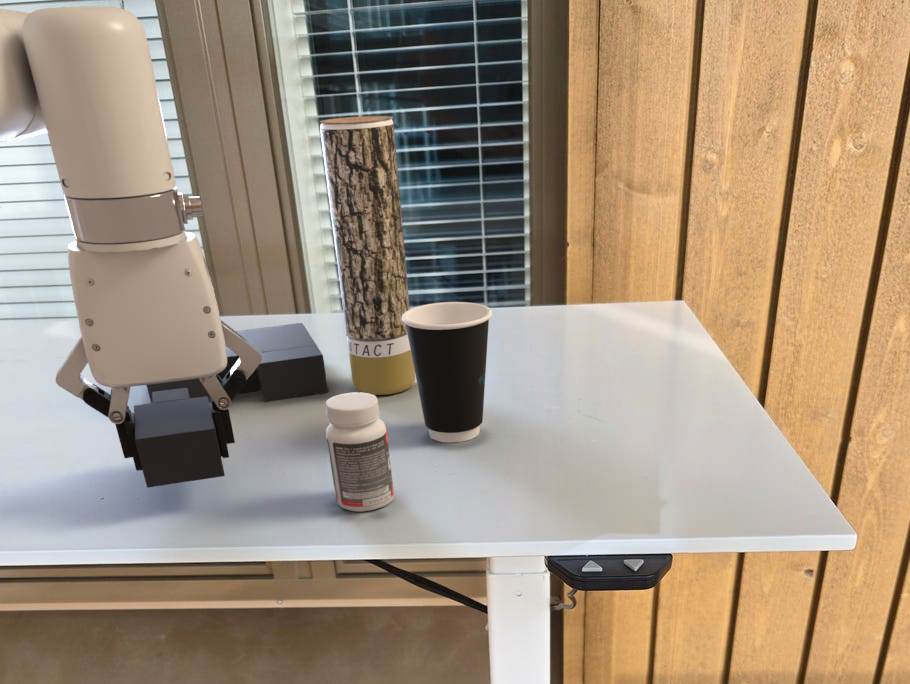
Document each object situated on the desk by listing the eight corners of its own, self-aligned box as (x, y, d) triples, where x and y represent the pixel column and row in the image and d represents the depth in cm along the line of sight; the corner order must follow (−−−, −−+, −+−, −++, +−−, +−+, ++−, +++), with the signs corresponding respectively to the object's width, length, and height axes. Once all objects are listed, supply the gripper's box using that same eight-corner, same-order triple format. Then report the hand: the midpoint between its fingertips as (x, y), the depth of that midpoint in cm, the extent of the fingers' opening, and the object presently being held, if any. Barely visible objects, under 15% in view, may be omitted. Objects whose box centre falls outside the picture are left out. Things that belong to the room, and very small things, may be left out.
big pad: (155, 418, 91) (145, 379, 88) (152, 378, 102) (143, 343, 100) (328, 392, 95) (322, 354, 93) (307, 356, 106) (302, 322, 104)
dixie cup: (513, 433, 83) (510, 312, 77) (443, 456, 79) (433, 330, 73) (464, 411, 88) (458, 296, 82) (396, 432, 85) (384, 313, 78)
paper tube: (374, 373, 99) (345, 116, 85) (427, 380, 97) (406, 115, 83) (341, 393, 94) (304, 123, 80) (395, 400, 92) (367, 122, 78)
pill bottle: (405, 500, 72) (395, 400, 67) (356, 518, 70) (342, 416, 65) (373, 482, 75) (361, 385, 70) (325, 500, 73) (310, 400, 68)
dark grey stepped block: (147, 487, 69) (134, 439, 67) (144, 438, 78) (133, 393, 76) (225, 476, 71) (215, 428, 69) (214, 428, 80) (205, 385, 77)
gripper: (245, 203, 68) (281, 427, 78) (2, 221, 64) (74, 456, 74) (256, 218, 62) (293, 459, 72) (-11, 240, 58) (69, 493, 68)
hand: (182, 456), depth 73 cm, fingers closed on dark grey stepped block, 6 cm apart
